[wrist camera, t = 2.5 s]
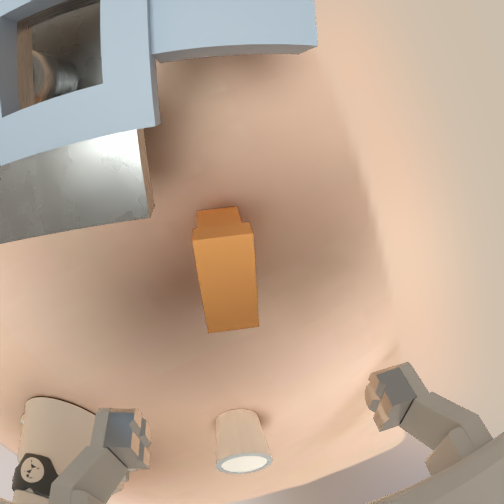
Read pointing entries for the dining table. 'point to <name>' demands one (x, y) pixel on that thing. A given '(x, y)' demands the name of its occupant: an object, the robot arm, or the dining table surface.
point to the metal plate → (77, 154)
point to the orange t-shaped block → (226, 269)
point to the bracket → (139, 62)
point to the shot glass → (240, 442)
